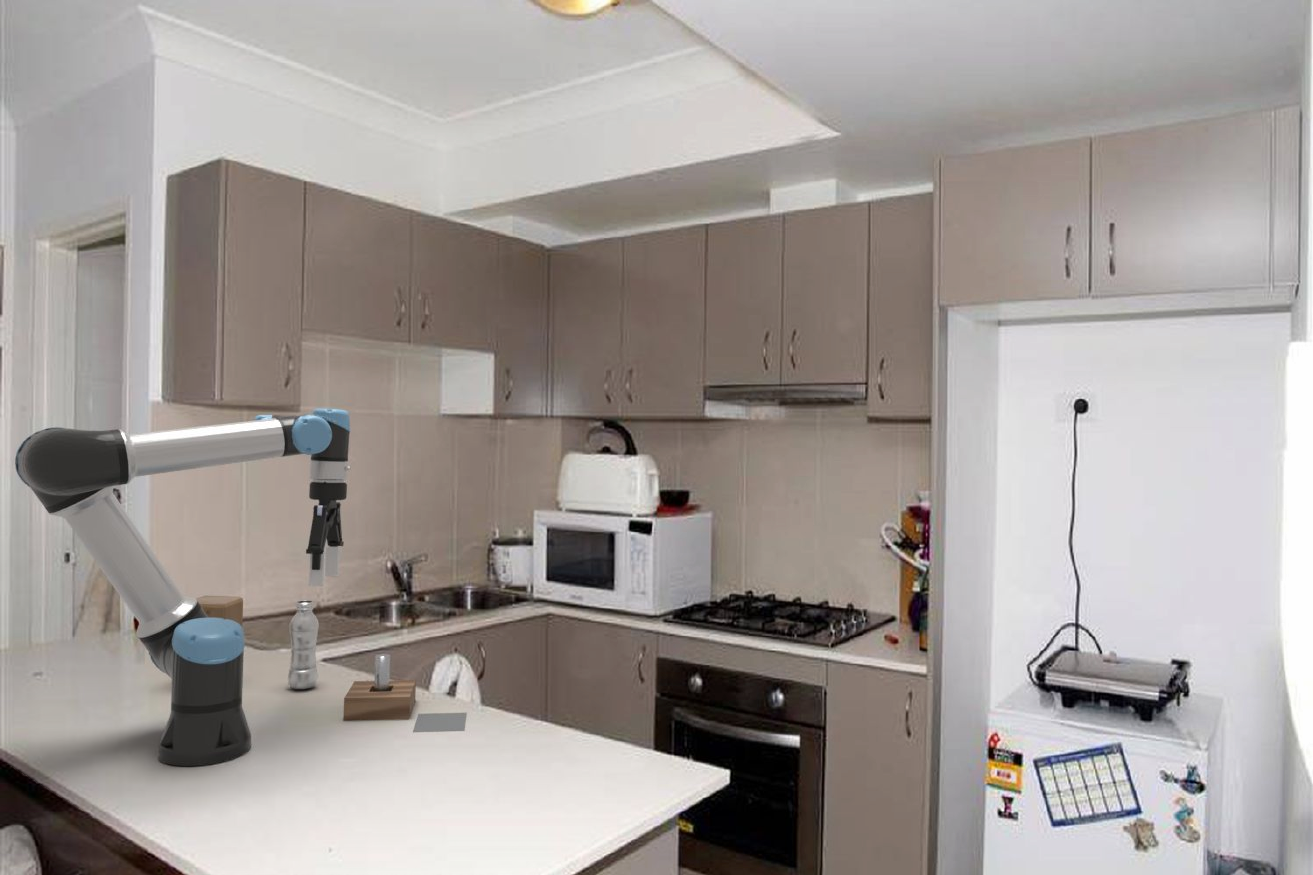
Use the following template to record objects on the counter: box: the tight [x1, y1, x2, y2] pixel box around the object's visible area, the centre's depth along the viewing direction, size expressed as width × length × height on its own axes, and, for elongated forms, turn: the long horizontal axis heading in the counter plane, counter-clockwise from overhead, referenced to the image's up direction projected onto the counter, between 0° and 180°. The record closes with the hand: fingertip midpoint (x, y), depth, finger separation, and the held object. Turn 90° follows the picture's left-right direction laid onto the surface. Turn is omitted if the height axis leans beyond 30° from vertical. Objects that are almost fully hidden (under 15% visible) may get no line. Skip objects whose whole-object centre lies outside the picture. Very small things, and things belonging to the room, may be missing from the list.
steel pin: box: [374, 653, 391, 692], centre depth 190 cm, size 3×3×12 cm
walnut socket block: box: [343, 679, 417, 722], centre depth 190 cm, size 13×13×5 cm
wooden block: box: [195, 595, 244, 628], centre depth 206 cm, size 10×10×20 cm
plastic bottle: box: [287, 599, 320, 690], centre depth 206 cm, size 6×7×20 cm
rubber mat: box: [412, 712, 468, 733], centre depth 183 cm, size 12×10×1 cm
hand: (324, 580), depth 191 cm, fingers open, 13 cm apart
